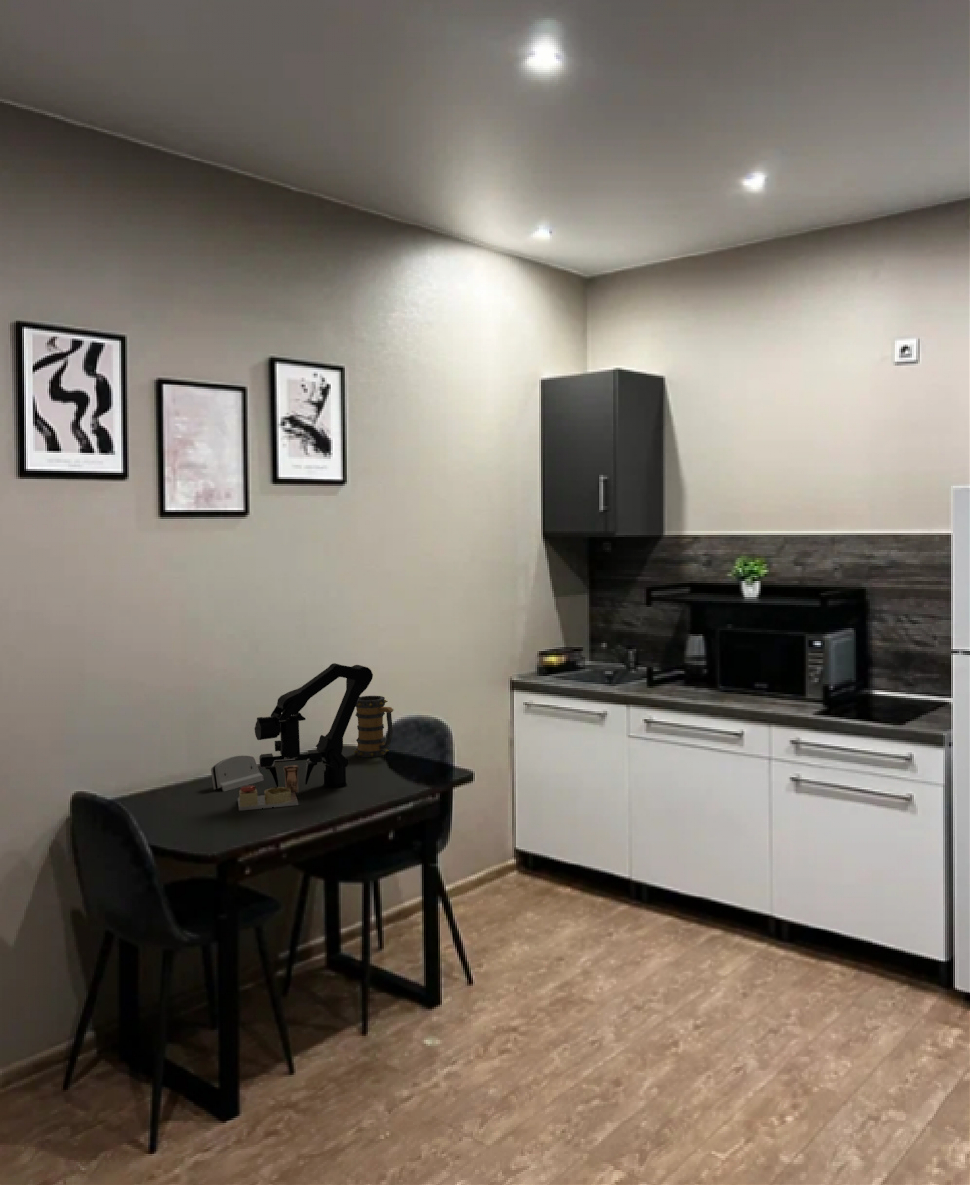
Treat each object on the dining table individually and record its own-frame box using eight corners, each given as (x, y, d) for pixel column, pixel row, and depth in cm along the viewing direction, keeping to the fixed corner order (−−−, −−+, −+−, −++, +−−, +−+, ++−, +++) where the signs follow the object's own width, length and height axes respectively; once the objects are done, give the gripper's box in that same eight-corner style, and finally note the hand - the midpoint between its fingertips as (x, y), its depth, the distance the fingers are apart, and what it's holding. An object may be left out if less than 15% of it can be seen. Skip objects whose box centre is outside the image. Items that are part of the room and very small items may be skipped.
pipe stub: (298, 789, 322) (297, 764, 321) (300, 793, 318) (299, 767, 317) (283, 790, 321) (282, 765, 320) (285, 794, 316) (284, 768, 316)
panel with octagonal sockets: (294, 795, 315) (294, 778, 315) (298, 805, 304) (297, 787, 304) (237, 800, 310) (237, 783, 310) (239, 810, 300) (238, 792, 300)
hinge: (223, 791, 321) (215, 760, 323) (214, 794, 324) (206, 763, 326) (265, 780, 335) (257, 750, 336) (256, 782, 337) (248, 753, 339)
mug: (370, 747, 378) (368, 693, 376) (406, 753, 367) (404, 698, 366) (345, 755, 367) (343, 699, 366) (381, 761, 357) (380, 703, 356)
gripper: (317, 728, 328) (319, 776, 329) (257, 732, 323) (259, 781, 324) (321, 735, 317) (323, 785, 319) (259, 740, 312) (261, 790, 314)
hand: (291, 785), depth 319 cm, fingers open, 8 cm apart
